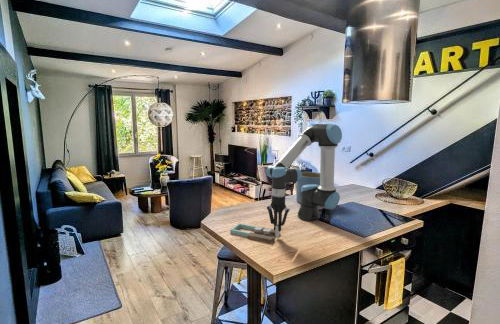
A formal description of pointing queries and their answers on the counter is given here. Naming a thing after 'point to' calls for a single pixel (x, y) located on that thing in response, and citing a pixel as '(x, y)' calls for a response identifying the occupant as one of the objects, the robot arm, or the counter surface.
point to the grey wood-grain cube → (267, 232)
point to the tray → (241, 233)
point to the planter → (306, 182)
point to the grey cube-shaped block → (258, 230)
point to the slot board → (262, 236)
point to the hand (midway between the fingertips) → (277, 236)
